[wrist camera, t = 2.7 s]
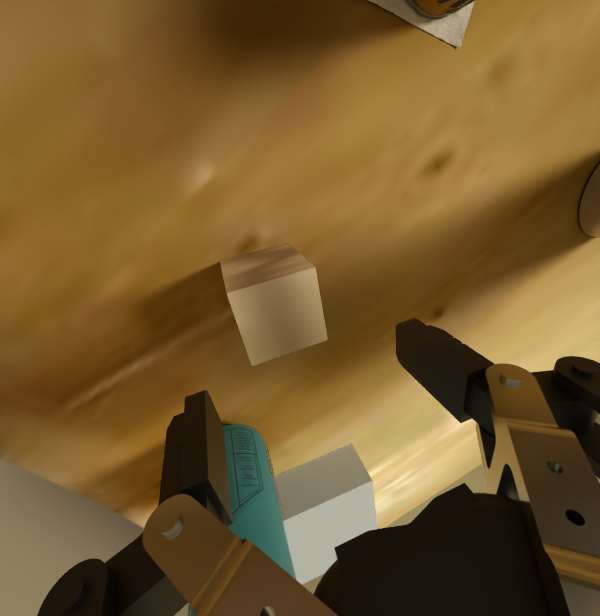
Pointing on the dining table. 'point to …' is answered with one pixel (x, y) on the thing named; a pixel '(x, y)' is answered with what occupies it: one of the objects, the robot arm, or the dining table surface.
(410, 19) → the condiment
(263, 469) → the beverage bottle
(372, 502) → the base block
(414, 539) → the robot arm
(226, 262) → the maple block
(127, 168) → the dining table surface
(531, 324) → the dining table surface
